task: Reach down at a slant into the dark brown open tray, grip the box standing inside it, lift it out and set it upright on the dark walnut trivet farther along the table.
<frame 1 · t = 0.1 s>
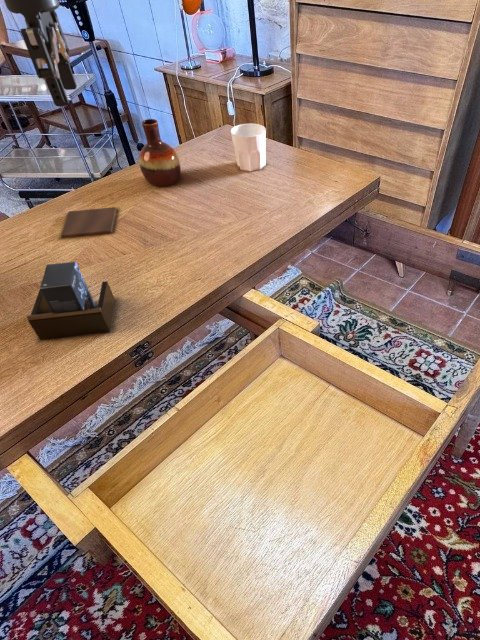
hand: (67, 97, 76), 33 cm above the table, tool pointing down, fingers open, 8 cm apart
cup: (251, 166, 134), on the table
trivet: (90, 224, 113), on the table
box: (80, 319, 90), resting in dark brown open tray
vase: (164, 182, 128), on the table
dark brown open tray: (80, 318, 90), on the table
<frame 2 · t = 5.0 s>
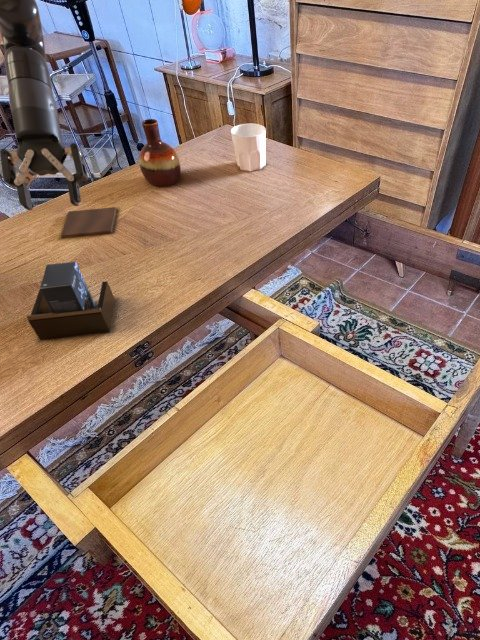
hand: (51, 206, 83), 18 cm above the table, tool tilted 45°, fingers open, 8 cm apart
nothing on the table moved.
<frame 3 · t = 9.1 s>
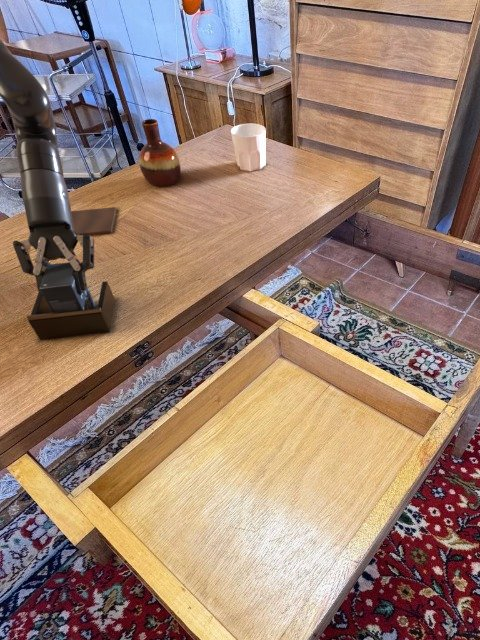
hand: (63, 294, 83), 7 cm above the table, tool tilted 45°, fingers closed on box, 5 cm apart
box: (80, 319, 90), resting in dark brown open tray, touching gripper
everything else where it was.
when the fingers open (8 cm above the table, at t = 21.2 s): box stays where it is, resting on trivet.
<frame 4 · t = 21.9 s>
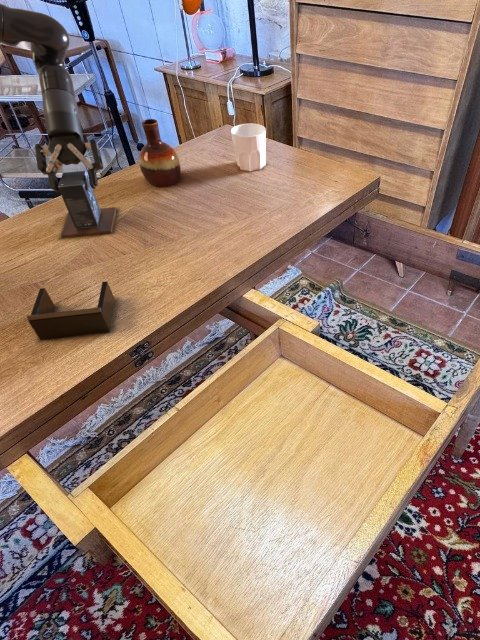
hand: (74, 189, 105), 10 cm above the table, tool tilted 45°, fingers open, 8 cm apart
box: (89, 221, 113), point 1 cm above the table, touching trivet
everything else where it was.
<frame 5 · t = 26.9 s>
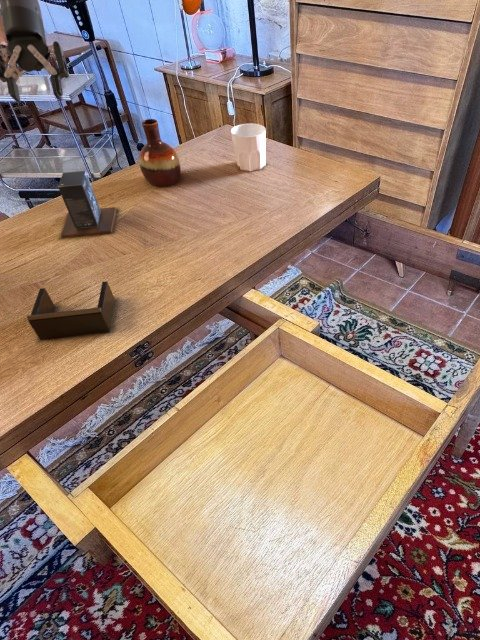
hand: (36, 98, 95), 27 cm above the table, tool tilted 45°, fingers open, 8 cm apart
nothing on the table moved.
at the end: box inside the target area on the trivet (0.2 cm from its centre), point 0.8 cm above the trivet's base; box tilted 0°; the gripper is holding nothing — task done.
